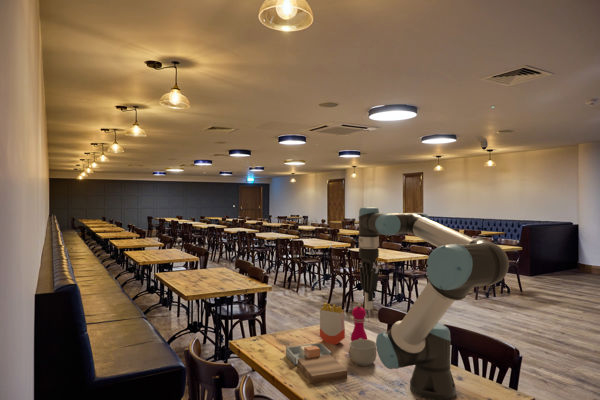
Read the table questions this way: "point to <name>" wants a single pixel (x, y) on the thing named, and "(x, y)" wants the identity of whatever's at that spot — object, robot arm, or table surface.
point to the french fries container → (332, 324)
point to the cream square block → (303, 351)
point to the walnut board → (322, 369)
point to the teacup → (363, 351)
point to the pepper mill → (358, 323)
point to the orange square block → (312, 351)
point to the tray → (294, 355)
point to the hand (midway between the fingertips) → (368, 308)
